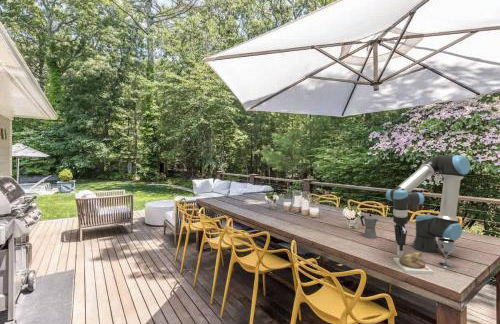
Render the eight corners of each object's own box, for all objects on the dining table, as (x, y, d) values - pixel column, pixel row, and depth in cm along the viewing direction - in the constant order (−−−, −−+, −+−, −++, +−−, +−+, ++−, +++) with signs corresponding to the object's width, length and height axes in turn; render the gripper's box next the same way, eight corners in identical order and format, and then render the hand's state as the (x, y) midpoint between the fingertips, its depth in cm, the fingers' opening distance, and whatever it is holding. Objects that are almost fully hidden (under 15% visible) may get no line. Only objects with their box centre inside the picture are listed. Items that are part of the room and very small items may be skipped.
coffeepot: (381, 237, 213) (381, 214, 212) (374, 239, 208) (374, 216, 207) (363, 232, 226) (363, 211, 225) (356, 234, 220) (356, 212, 220)
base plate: (417, 261, 167) (417, 257, 167) (433, 274, 149) (433, 270, 149) (393, 260, 168) (393, 256, 168) (406, 272, 151) (406, 269, 151)
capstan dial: (409, 257, 167) (409, 248, 167) (431, 265, 156) (431, 255, 155) (393, 261, 162) (393, 251, 161) (415, 270, 150) (415, 259, 150)
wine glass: (442, 267, 157) (442, 241, 157) (435, 262, 165) (435, 237, 164) (457, 268, 156) (457, 242, 155) (449, 262, 164) (449, 238, 163)
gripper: (389, 213, 170) (389, 251, 170) (398, 218, 157) (398, 259, 157) (402, 213, 169) (402, 251, 169) (412, 219, 156) (411, 259, 157)
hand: (400, 255), depth 163 cm, fingers closed
